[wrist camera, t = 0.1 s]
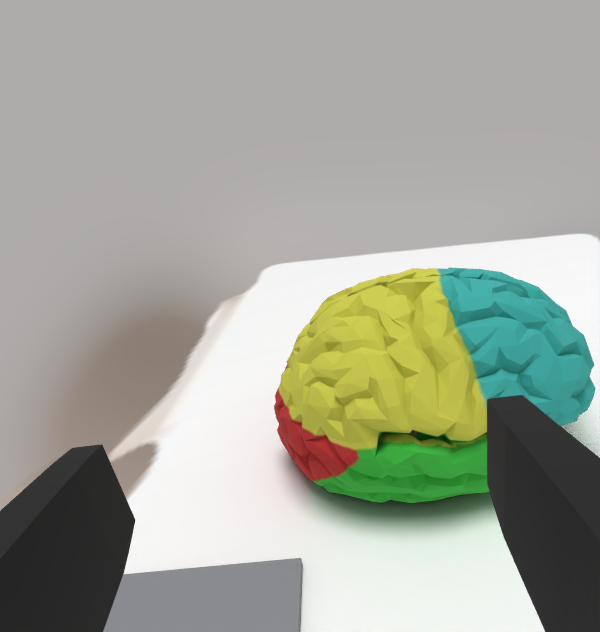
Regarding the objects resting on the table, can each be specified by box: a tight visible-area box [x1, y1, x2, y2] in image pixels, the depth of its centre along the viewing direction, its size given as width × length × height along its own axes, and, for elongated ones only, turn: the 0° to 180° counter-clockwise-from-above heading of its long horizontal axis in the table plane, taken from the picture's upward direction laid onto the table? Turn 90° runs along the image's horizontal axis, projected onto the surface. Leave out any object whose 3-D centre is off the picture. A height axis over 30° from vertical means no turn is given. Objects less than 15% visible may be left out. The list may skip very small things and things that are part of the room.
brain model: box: [274, 268, 595, 503], centre depth 40 cm, size 24×19×15 cm
